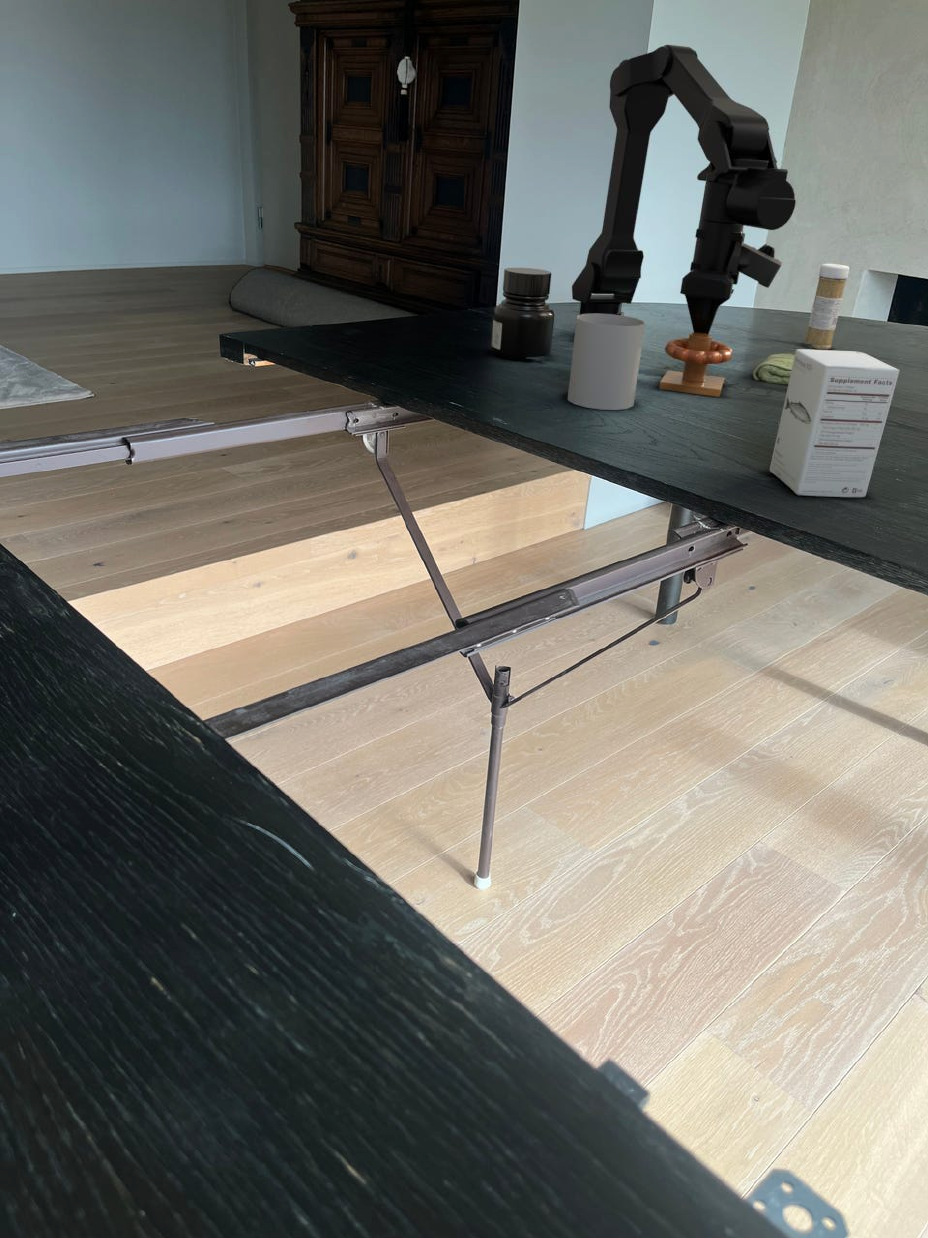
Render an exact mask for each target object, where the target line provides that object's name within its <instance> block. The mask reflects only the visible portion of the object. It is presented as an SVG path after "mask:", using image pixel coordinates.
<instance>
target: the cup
mask: <svg viewBox="0 0 928 1238" xmlns="http://www.w3.org/2000/svg"><path fill="white" fill-rule="evenodd" d="M575 320H576V322H575V330H574V339H573V347H572V357H571V365H570V374H569V375H570V376H569V382H568V383H569V384H568V390H567V391H568V393H567V401H568V402H569V403H572V404H574V405H577V406H580V407H584V408H589V409H594V410H600V411H601V410H602V411H619V410H628V409H631V408H632V407H634V405H635V397H636V392H637V391H636V389H637V382H638V377H639V369H640V363H641V356H642V349H643V343H644V342H643V341H644V335H645V328H646V322H645V320H643V319H639V318H636V317H631V316H627V315H624V316H622V315H613V314H597V313H594V314H582V315H579V314H578V315H576V319H575Z"/></svg>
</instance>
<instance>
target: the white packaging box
mask: <svg viewBox="0 0 928 1238" xmlns="http://www.w3.org/2000/svg"><path fill="white" fill-rule="evenodd" d="M794 355H795V357H794V361H793V366H792V371H791V375H790V380H789V384H788V385H787V388H786V389H787V390H786V394H785V398H784V402H783V407H782V412H781V416H780V420H779V425H778V430H777V433H776V434H777V435H776V438H775V443H774V448H773V453H772V457H771V461H770V466H769V472H770V473H772V474H773V475H775V476H776V477H777V478H778V479H779V480H781V482H783V483H784V484H785V486H787V487H788V488H790V490H792V491H793V493H794V494H796V496H803V497H805V496H806V497H831V498H832V497H833V498H865V497H866V495H867V492H868V488H869V484H870V481H871V477H872V474H873V470H874V467H875V462H876V459H877V456H878V451H879V448H880V443H881V440H882V437H883V433H884V430H885V429H884V428H885V426H886V422H887V419H888V414H889V412H890V407H891V404H892V401H893V397H894V393H895V388H896V386H897V382H898V377H899V374H900V369H899V368H896V367H894V366H892V365H890V364H887V363H885V362H883V361H882V360H879V359H877V358H875V357H873V356H871V355H869V354H867V353H865V352H863V351H855V350H831V349H828V350H820V349H810V348H809V349H808V348H806V349H805V348H804V349H803V348H798V349H795V352H794Z"/></svg>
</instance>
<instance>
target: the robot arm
mask: <svg viewBox="0 0 928 1238" xmlns="http://www.w3.org/2000/svg"><path fill="white" fill-rule="evenodd" d="M609 91H610V92H609V106H608V107H609V111H610V113H611V117H612V118H613V121H614V124H615V126H616V134H615V139H614V140H615V141H614V148H613V155H612V161H611V168H610V174H609V181H608V189H607V196H606V201H605V202H606V203H605V209H604V215H603V222H602V228H601V233H600V235H598V237H597V238H596V240H595V241H594V243H592V245H591V247H590V248H589V250H588V253H587V258H586V261H585V265H584V267H583V269H581V271H580V273H579V274H578V276H577V278H576V279H575V280H574V282H573V283H572V285H571V297H572V300H574V301H576V302H579V303H580V306H579V313H578V315H582V314H594V313H597V314H613V315H622V316H625V312H624V311H622V308H623V304H632V302H633V299H634V296H635V294H636V290H637V288H638V285H639V282H640V279H642V265H643V261H644V258H645V257H644V251H643V250H642V249H641V250H639V247H638V245H637V242H636V239H635V231H636V224H637V217H638V211H639V206H640V199H641V194H642V187H643V181H644V175H645V168H646V163H647V157H648V151H649V144H650V140H651V139H650V137H651V133H652V131H653V130H654V128H655V127H656V125H657V124H658V123H659V122H660V121H661V119H662V117H663V116H664V115H665V113H666V109H667V106H668V102H669V98H671V97H673V96H675V98H676V99H677V100H678V101H679V103H680V104H681V105H682V106H683V108H684V109H685V110H686V112H687V113H688V114H689V116H690V117H691V118H692V119H693V121H694V122H695V123H696V125H697V127H698V133H697V134H698V135H697V142H698V144H699V146H700V148H701V151H703V154H704V157H705V158H706V160H707V161H708V162H709V163H708V164H707V166H706V167H705V168H703V169H702V170H701V171H700V172H699V173H698V174H697V178H696V179H697V180H698V181H702V182H705V184H704V192H703V197H702V203H701V208H700V209H701V210H700V214H699V221H698V227H697V228H696V231H695V235H694V237H695V238H696V241H695V246H694V253H693V259H692V261H691V263H690V269H689V272H687V273H686V274H685V275H684V276H683V277H682V280H681V286H680V290H679V294H681V295H684V297H685V300H686V304H687V309H688V312H689V317H690V321H691V326H692V330H693V333H704V334H709V335H710V332H711V329H712V326H713V325H714V321H715V318H716V315H717V313H718V311H719V308H720V306H721V305H723V304H724V303H725V302H727V301H729V300H730V299H731V298H732V295H733V294H734V292H735V289H733V288H734V285H738V283H739V278H740V273H741V274H742V275H744V276H746V277H749V278H750V279H752V280H754V281H756V282H758V285H760V286H761V287H764V288H768V289H769V288H770V286H771V284H772V283H773V281H774V279H775V277H776V276H777V274H778V273H779V270H780V268H781V267H782V264H783V262H782V261H780V259H777V258H775V255H776V254H775V253H776V248H775V247H773V246H771V245H770V244H767V243H764V244H763V245H762V246H760V247H759V248H758V249H757V248H756V247H754V246H750V245H749V244H747V243H745V238H746V233H744V227H750V228H757V229H761V230H768V231H775V230H779V229H780V228H783V226H785V225H786V224H787V223H788V222H789V220H790V219H791V217H792V215H793V213H794V211H795V208H796V203H797V201H796V196H795V190H794V188H793V186H792V184H791V183H790V182H789V181H788V180H787V179H788V173H789V170H788V169H787V168H778V164H777V163H778V160H777V158H776V156H775V152H774V147H773V143H772V139H771V135H770V126H769V123H768V121H767V119H766V118H765V117H764V116H763V115H762V114H760V113H759V112H757V111H755V110H754V109H753V108H751V107H749V106H747V105H744V104H741V103H739V102H737V101H735V100H734V99H732V98H731V97H730V95H729V94H728V93H727V92H726V91H725V90H724V89H723V87H722V85H721V84H719V82H718V81H717V80H716V79H715V78H714V76H713V75H712V74H711V73H710V71H709V70H708V69H707V67H706V66H704V64H703V63H702V62H701V61H700V59H699V57H698V52H697V51H696V50H695V49H693V48H692V47H690V46H685V45H676V44H665V45H662V46H659V47H658V48H656V49H654V50H653V51H650V52H647V53H643V54H641V55H637V56H634V57H631V58H629V59H623V60H622V61H621V62H620V63H619V64H618V66H617V67H615V68H614V70H613V71H612V73H611V76H610V79H609Z"/></svg>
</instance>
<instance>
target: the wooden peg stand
mask: <svg viewBox="0 0 928 1238" xmlns="http://www.w3.org/2000/svg"><path fill="white" fill-rule="evenodd" d="M688 338H689V340H688V346H687V349H689V350H695V351H703V352H709V351H710V345H711V340H712V341H713V336H712V335H711V334H710V333H709V334H704V333H694V332H690V333H689V334H688ZM707 367H708V364H697V363H689V362H684V365H683V371H675V370H667V371H666V372H665V374H664V376H663V377H662V379H661V380H660V382H659V387H658V390H662V391H670V392H679V393H686V394H692V395H701V396H708V397H715V398H720V397H721V393H722V391H723V387H724V382H725V379H726V378H725V377H724V376H723V377H722V376H715V375H708V374H707V375H706V373H707Z"/></svg>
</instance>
